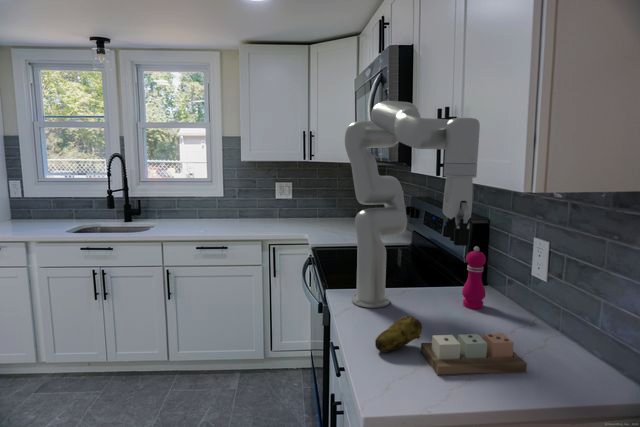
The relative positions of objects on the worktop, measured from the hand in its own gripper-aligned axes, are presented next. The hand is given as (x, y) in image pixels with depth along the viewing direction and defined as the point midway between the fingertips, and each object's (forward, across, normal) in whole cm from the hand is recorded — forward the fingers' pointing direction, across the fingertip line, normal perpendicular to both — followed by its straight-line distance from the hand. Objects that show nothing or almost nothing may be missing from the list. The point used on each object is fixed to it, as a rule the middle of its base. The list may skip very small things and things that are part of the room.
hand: (455, 240), depth 104 cm
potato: (+29, 0, -13) cm, 32 cm away
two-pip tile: (+27, +5, +4) cm, 28 cm away
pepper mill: (+29, -33, +15) cm, 46 cm away
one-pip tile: (+27, +6, -2) cm, 28 cm away
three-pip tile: (+27, +4, +10) cm, 29 cm away
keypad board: (+28, +5, +4) cm, 29 cm away
